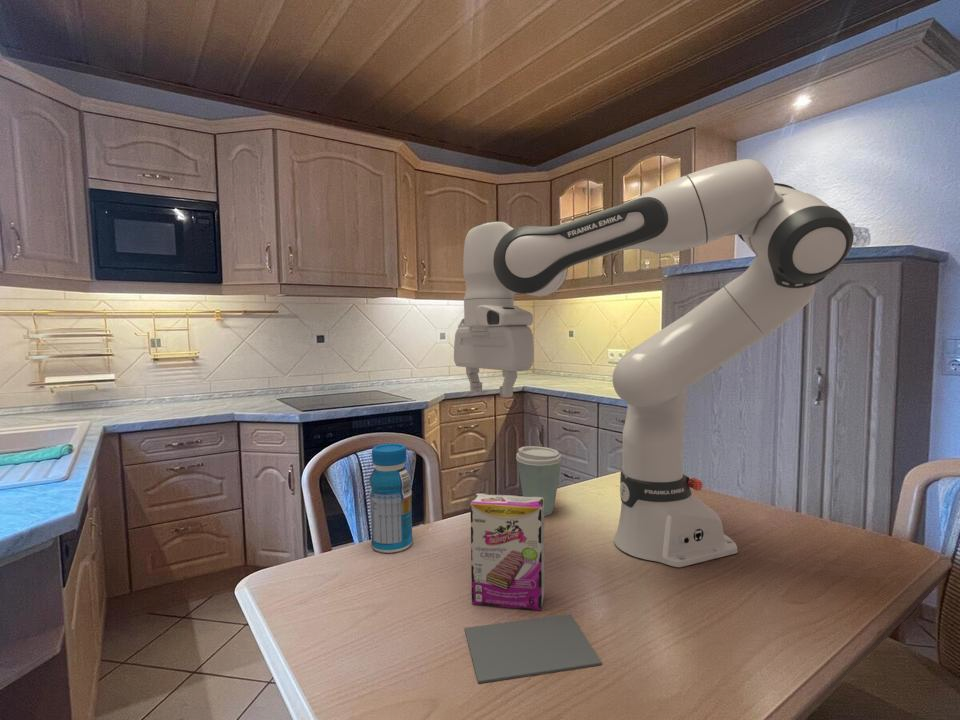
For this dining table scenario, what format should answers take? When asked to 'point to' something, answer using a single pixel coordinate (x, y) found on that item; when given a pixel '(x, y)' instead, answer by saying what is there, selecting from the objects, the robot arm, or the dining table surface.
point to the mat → (529, 648)
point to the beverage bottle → (390, 499)
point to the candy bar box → (507, 551)
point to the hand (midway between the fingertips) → (490, 394)
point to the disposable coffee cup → (539, 473)
